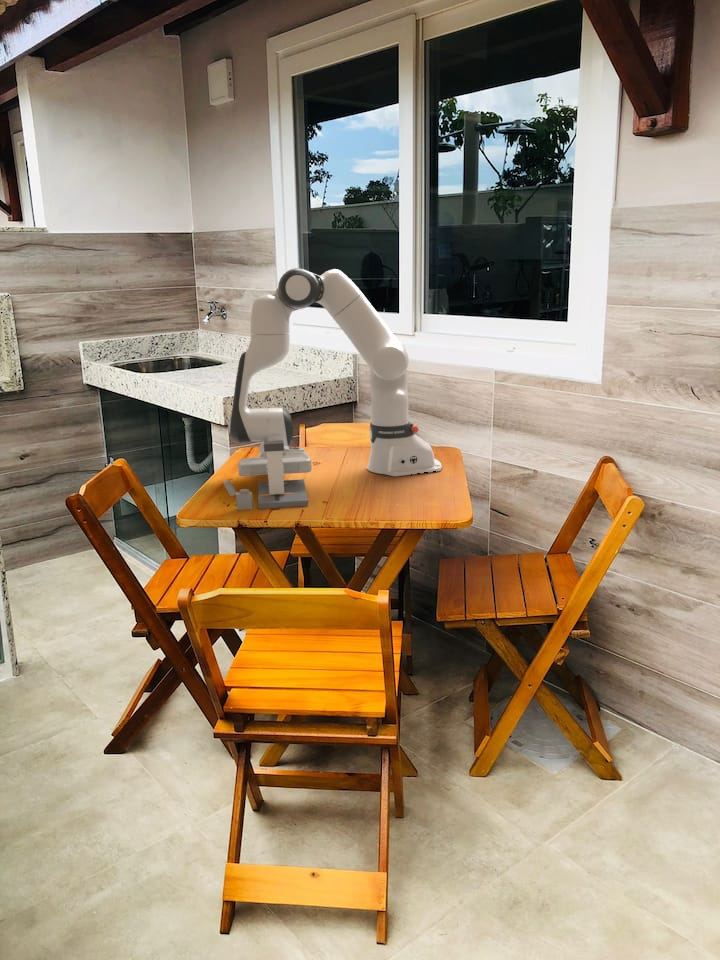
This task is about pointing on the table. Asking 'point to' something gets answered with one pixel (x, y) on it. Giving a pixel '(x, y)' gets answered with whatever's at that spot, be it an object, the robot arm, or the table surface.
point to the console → (283, 495)
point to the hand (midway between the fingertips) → (275, 473)
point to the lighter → (240, 496)
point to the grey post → (275, 466)
